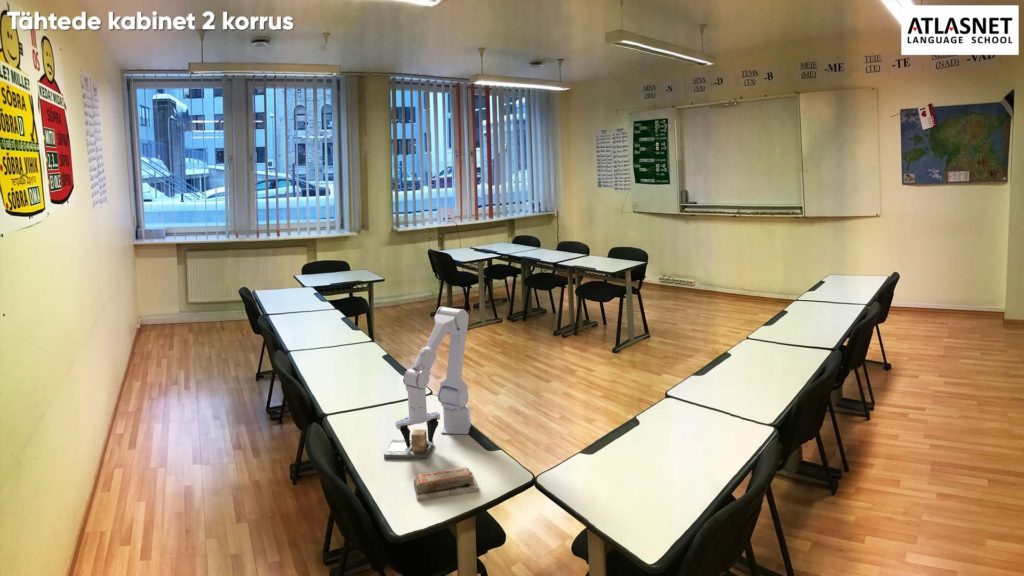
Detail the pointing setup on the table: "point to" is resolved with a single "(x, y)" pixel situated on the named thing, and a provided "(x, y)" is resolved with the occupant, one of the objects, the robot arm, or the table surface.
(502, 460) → the table surface
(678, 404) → the table surface
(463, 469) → the packaged product
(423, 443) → the peg
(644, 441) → the table surface
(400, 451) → the plate
